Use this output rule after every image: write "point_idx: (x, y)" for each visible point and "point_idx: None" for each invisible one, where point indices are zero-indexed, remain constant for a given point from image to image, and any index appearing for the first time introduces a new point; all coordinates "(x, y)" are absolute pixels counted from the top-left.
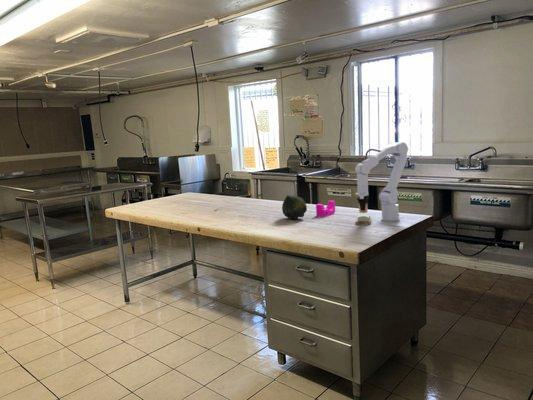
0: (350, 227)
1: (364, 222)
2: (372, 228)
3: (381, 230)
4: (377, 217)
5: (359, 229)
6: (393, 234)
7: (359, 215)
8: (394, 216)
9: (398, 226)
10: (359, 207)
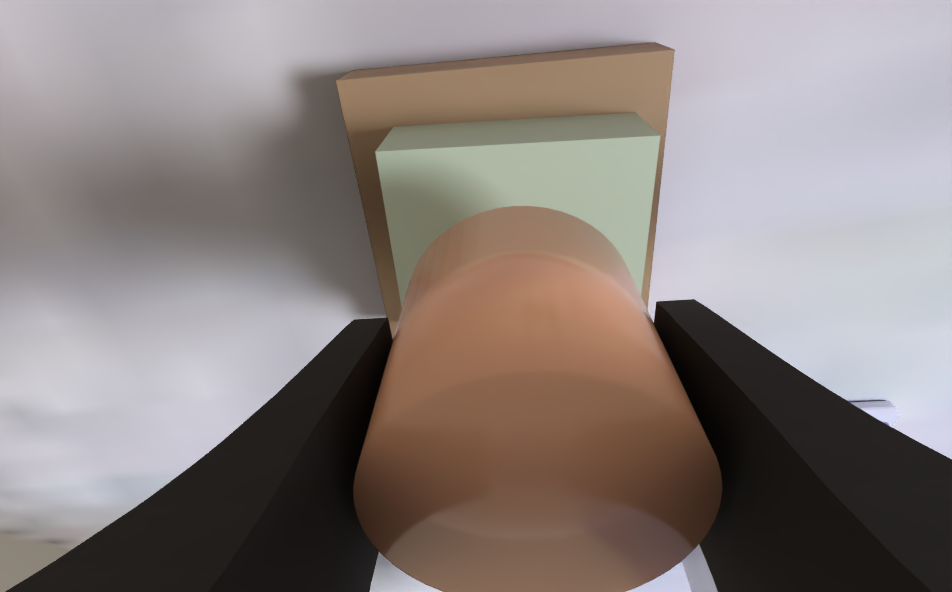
0: (74, 12)
1: (377, 250)
2: (187, 365)
3: (142, 455)
4: (915, 349)
5: (34, 210)
6: (52, 543)
7: (578, 156)
8: (698, 570)
9: (380, 560)
10: (437, 311)
